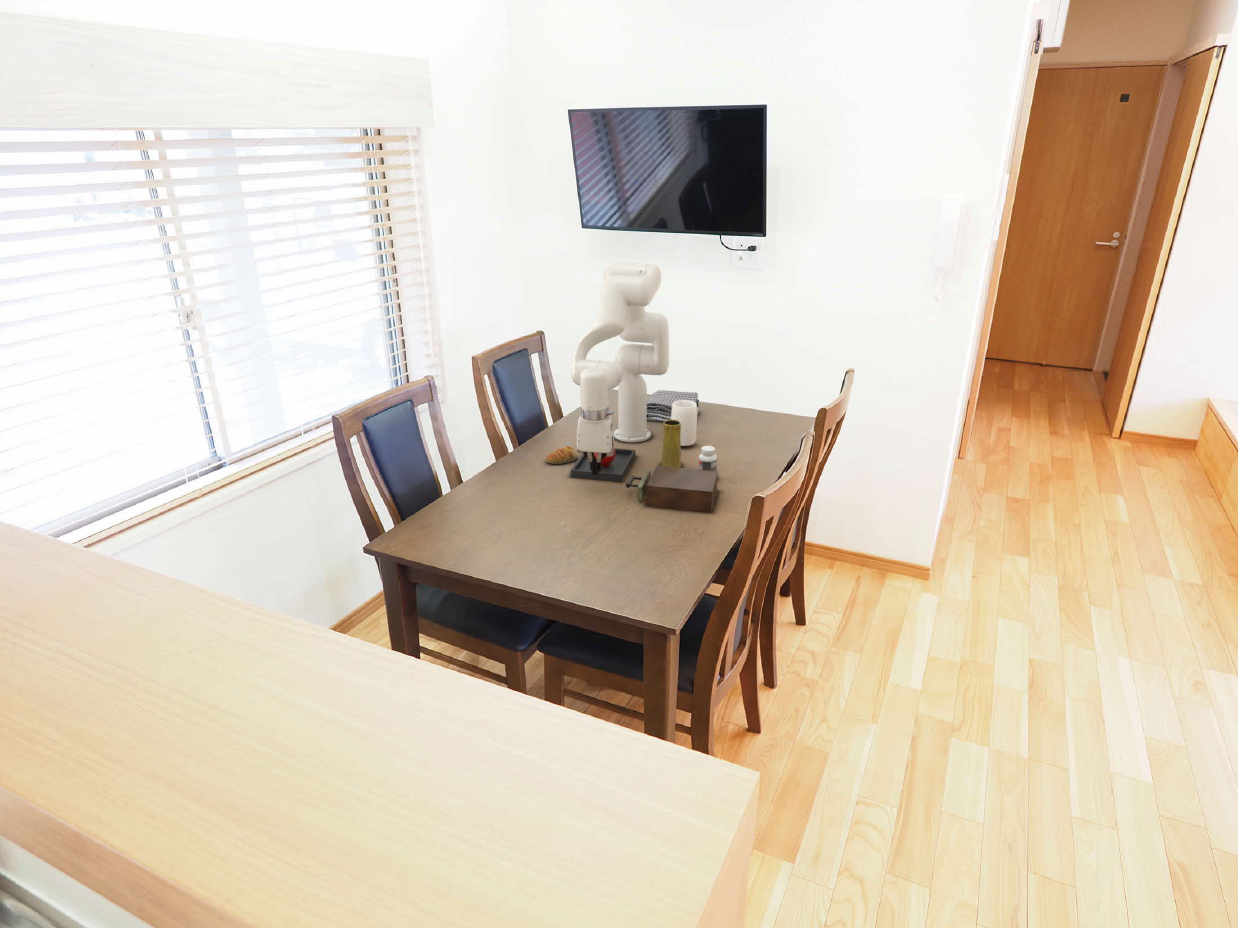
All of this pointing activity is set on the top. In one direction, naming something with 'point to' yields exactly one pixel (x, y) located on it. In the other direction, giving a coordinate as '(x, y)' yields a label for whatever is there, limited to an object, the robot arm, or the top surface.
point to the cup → (686, 420)
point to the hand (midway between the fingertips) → (595, 472)
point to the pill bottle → (707, 459)
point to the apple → (606, 459)
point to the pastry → (562, 455)
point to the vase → (671, 444)
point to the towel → (666, 403)
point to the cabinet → (682, 489)
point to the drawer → (642, 486)
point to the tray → (611, 472)
